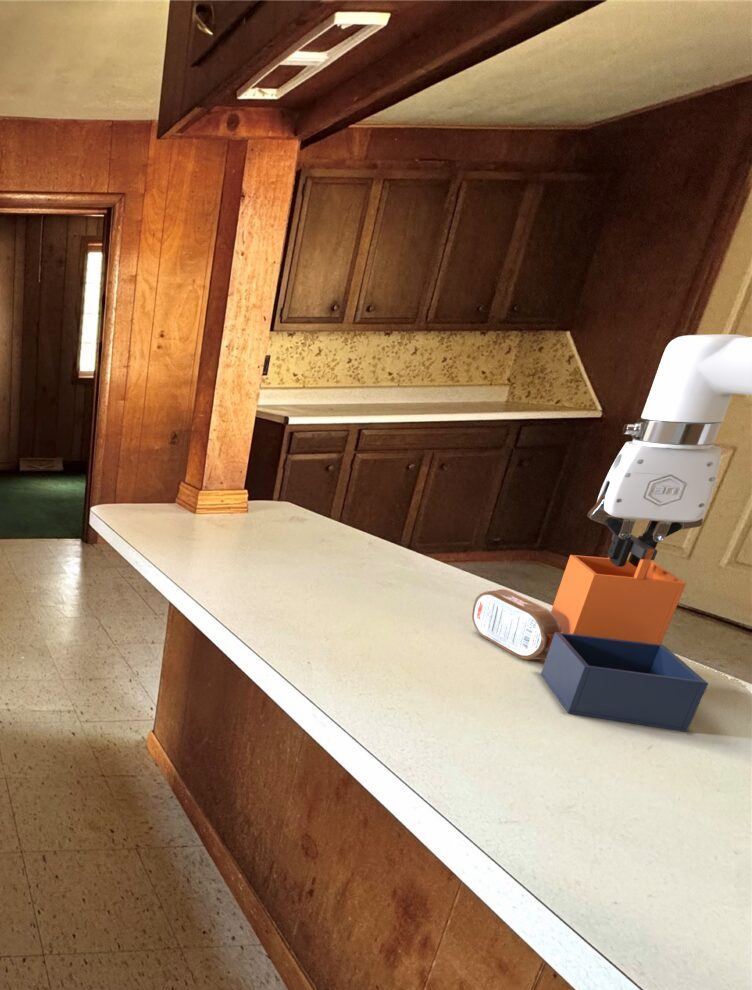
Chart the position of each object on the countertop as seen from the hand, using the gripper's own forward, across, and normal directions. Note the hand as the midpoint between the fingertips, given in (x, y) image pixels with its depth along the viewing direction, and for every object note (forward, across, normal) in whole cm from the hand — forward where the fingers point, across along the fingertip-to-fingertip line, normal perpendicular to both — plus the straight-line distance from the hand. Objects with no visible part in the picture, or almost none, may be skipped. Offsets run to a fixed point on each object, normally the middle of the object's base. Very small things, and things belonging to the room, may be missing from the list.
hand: (626, 563), depth 95 cm
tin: (+16, -10, +2) cm, 19 cm away
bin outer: (+16, -2, -13) cm, 21 cm away
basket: (+11, 0, 0) cm, 11 cm away
